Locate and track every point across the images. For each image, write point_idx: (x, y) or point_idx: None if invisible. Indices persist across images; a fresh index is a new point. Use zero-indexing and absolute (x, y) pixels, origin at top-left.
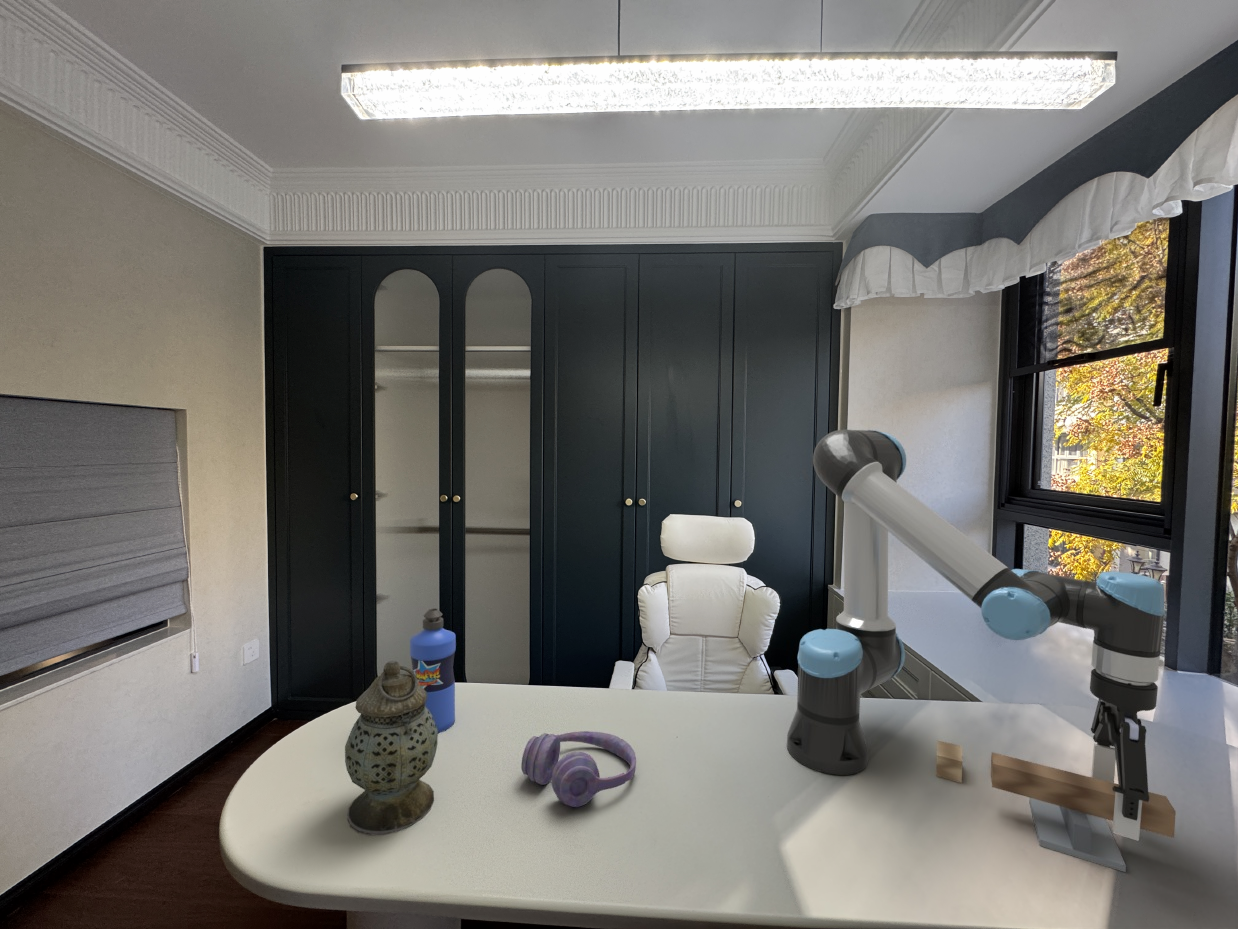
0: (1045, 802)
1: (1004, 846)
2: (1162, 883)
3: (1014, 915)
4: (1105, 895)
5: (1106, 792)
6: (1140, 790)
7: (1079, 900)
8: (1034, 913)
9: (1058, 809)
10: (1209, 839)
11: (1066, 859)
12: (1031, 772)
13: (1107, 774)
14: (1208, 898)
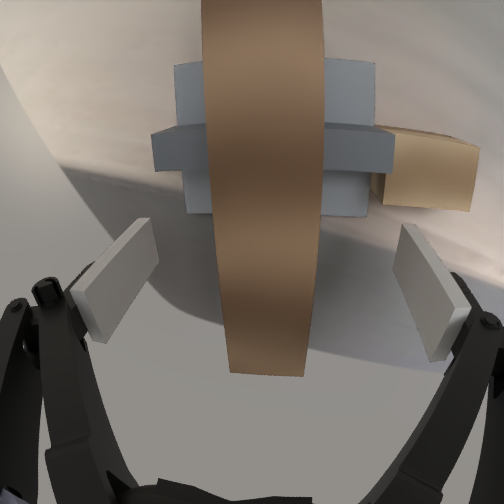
0: (366, 95)
1: (136, 14)
2: (200, 257)
3: (6, 69)
4: (102, 166)
5: (222, 251)
6: (36, 349)
7: (68, 131)
8: (18, 86)
9: (349, 119)
10: (381, 348)
11: (163, 112)
12: (214, 9)
13: (408, 279)
14: (205, 304)
